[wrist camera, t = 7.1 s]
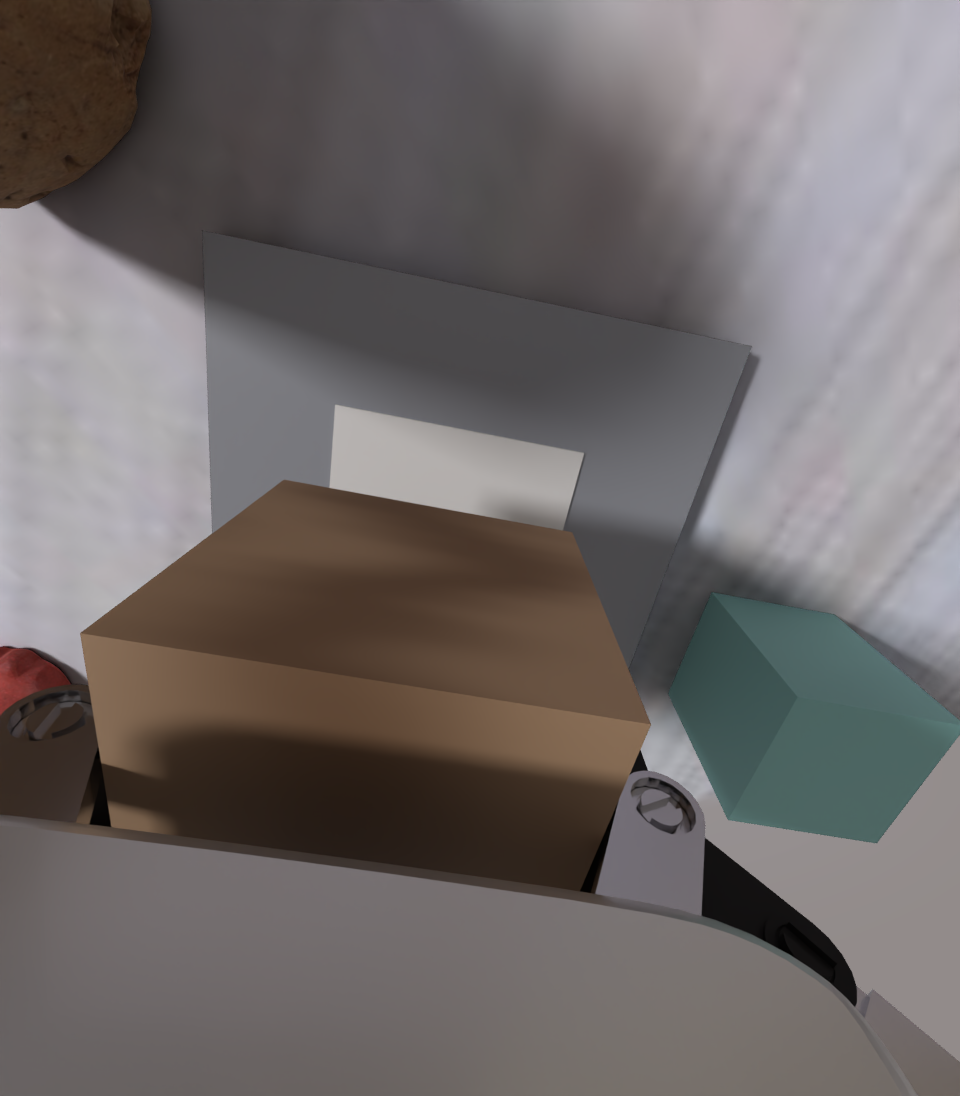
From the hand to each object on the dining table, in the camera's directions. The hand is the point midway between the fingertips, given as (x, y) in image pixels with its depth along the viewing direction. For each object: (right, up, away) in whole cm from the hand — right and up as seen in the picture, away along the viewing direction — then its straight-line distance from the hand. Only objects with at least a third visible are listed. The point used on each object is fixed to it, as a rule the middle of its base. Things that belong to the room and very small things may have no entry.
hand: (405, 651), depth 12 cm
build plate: (0, +3, +7) cm, 7 cm away
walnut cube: (0, 0, +1) cm, 1 cm away
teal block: (+13, -2, +9) cm, 16 cm away
